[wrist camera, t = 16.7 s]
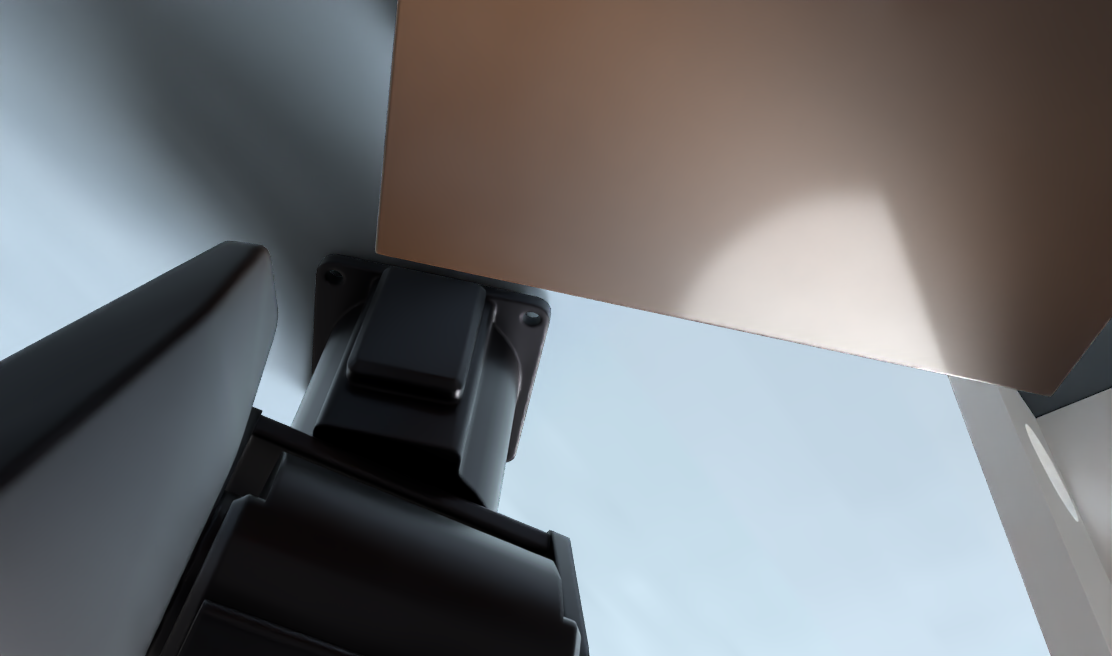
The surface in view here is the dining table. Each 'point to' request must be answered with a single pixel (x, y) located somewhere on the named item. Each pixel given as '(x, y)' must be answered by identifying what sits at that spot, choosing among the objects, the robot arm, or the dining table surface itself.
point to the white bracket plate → (1051, 505)
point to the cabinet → (773, 167)
